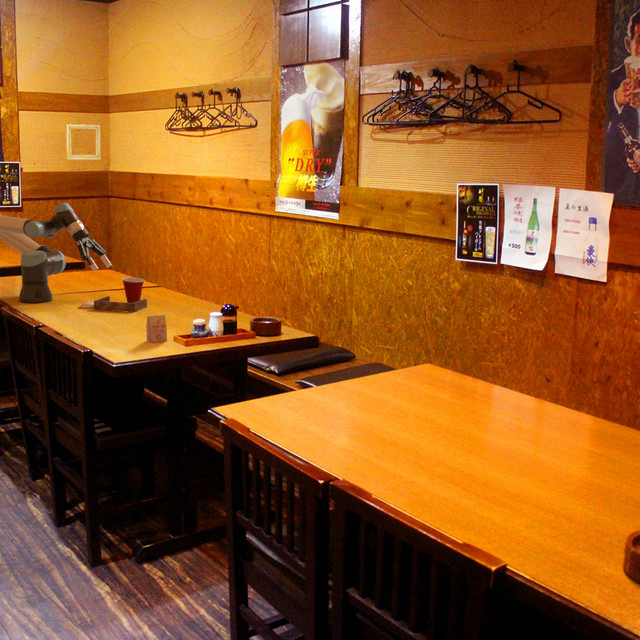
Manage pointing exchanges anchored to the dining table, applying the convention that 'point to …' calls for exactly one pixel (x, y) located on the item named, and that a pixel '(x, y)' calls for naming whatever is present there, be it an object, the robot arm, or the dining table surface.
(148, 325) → the printed paper bag
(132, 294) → the plastic cup
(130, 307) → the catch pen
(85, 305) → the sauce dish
